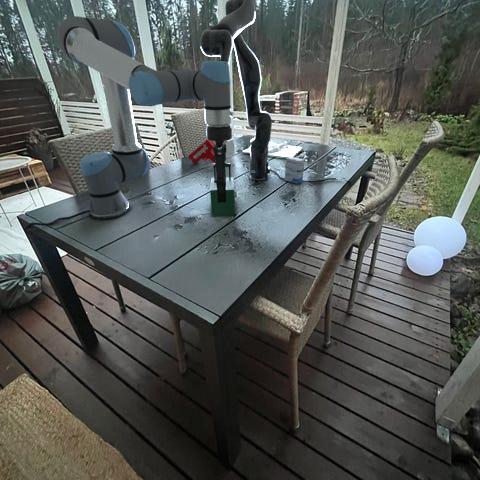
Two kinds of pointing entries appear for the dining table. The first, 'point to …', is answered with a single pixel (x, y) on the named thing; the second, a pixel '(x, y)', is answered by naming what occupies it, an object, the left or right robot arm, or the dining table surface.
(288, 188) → the dining table surface
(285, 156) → the relief map
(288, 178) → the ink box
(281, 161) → the dining table surface
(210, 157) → the toy gun
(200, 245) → the dining table surface
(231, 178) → the lid
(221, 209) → the chest
